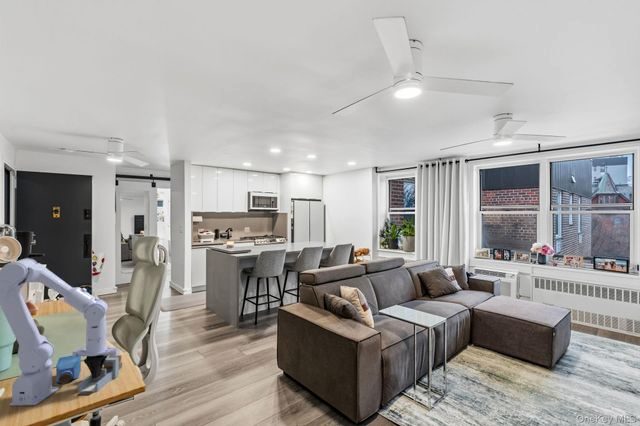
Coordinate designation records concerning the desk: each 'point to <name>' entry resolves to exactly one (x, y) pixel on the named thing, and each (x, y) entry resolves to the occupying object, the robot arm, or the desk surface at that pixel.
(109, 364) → the walnut block
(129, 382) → the desk surface
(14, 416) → the desk surface
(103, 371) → the sled
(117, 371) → the arch track
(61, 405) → the desk surface
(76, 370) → the perfume bottle
